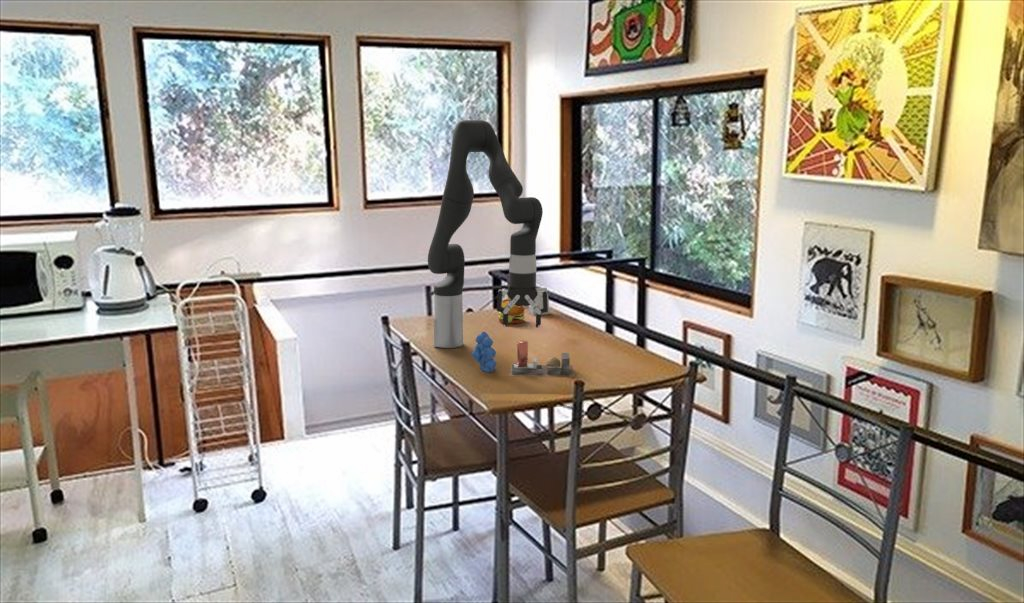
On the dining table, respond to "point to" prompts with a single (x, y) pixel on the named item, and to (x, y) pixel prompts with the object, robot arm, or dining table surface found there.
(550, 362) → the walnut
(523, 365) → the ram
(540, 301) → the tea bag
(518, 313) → the cheeseburger
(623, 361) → the dining table surface
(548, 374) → the base
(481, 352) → the grapes
